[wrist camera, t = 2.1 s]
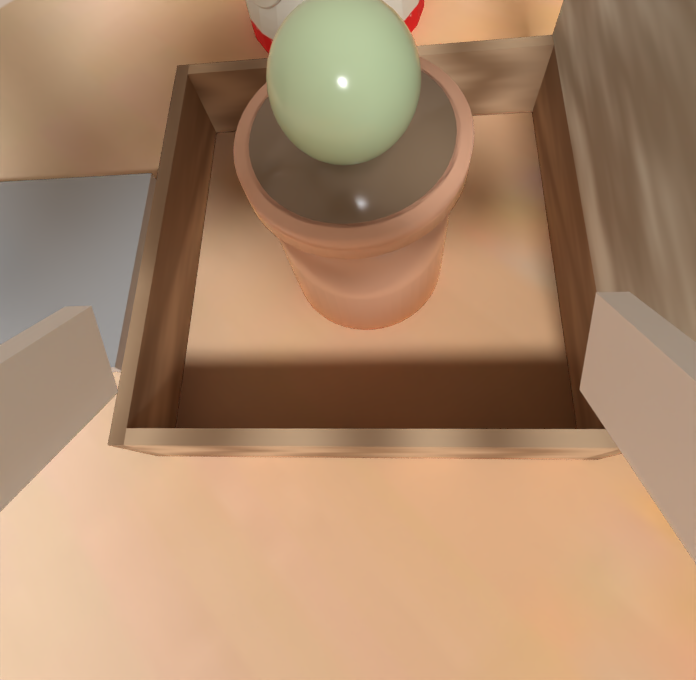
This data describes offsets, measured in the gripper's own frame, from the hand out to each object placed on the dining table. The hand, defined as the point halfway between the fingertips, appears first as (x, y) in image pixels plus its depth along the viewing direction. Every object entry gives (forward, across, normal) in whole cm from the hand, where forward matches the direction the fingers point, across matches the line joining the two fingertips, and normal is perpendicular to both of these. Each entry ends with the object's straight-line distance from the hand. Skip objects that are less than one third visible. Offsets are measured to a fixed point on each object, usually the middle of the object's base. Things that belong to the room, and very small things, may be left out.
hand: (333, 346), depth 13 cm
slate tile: (+18, -22, -3) cm, 29 cm away
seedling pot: (+18, 0, -3) cm, 18 cm away
